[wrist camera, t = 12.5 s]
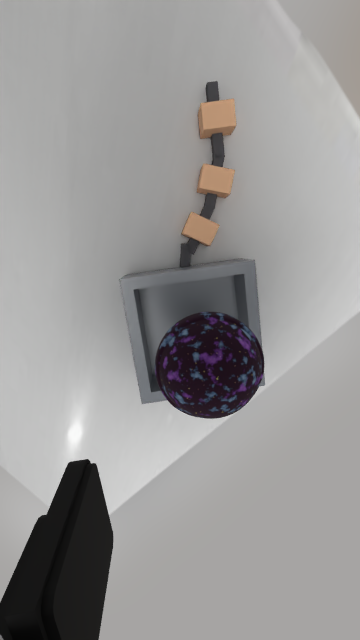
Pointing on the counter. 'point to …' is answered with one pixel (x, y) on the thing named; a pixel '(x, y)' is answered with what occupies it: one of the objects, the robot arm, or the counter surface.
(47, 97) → the counter surface
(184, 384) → the lollipop
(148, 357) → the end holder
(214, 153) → the cable run
